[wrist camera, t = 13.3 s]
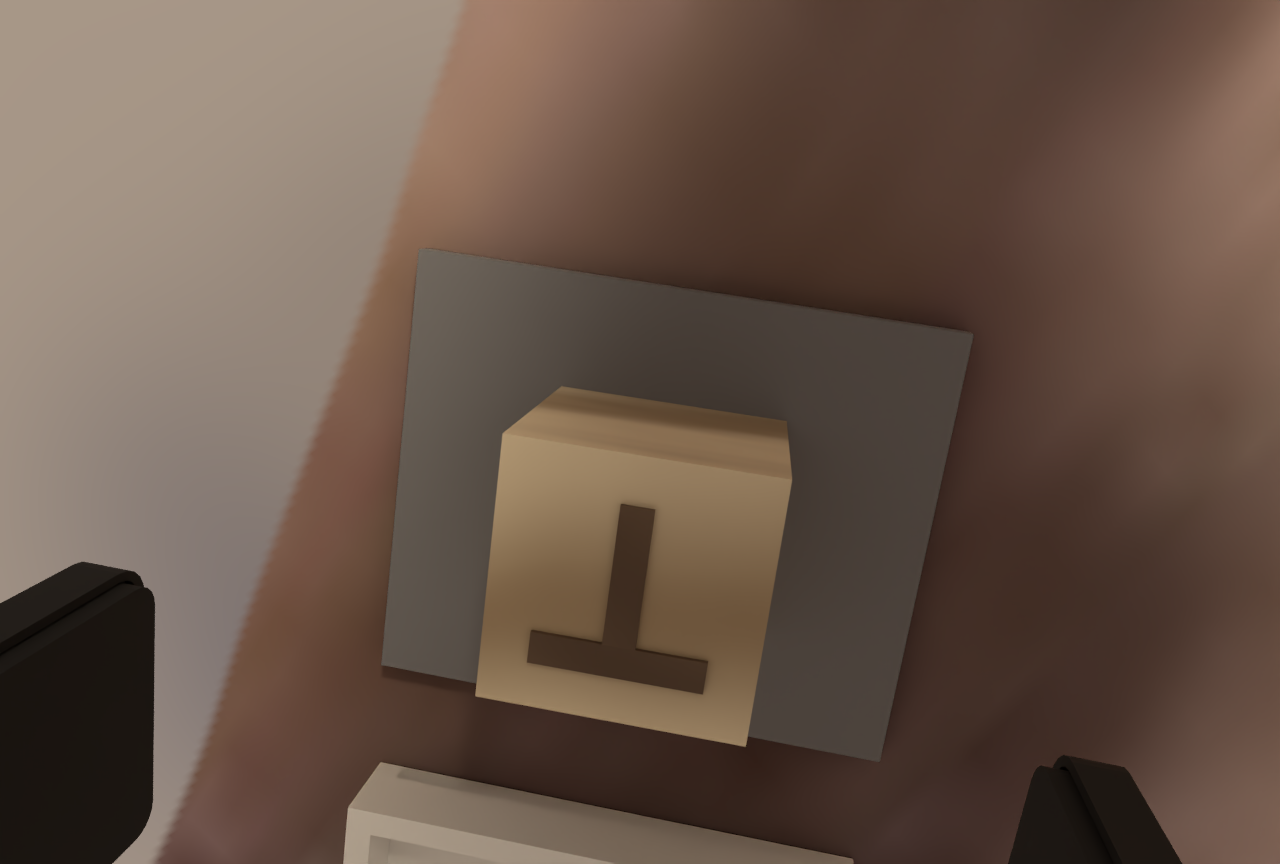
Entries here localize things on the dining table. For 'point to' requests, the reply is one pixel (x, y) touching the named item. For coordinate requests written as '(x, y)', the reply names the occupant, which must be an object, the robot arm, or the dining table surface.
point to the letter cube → (634, 562)
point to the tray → (528, 829)
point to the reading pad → (699, 377)
